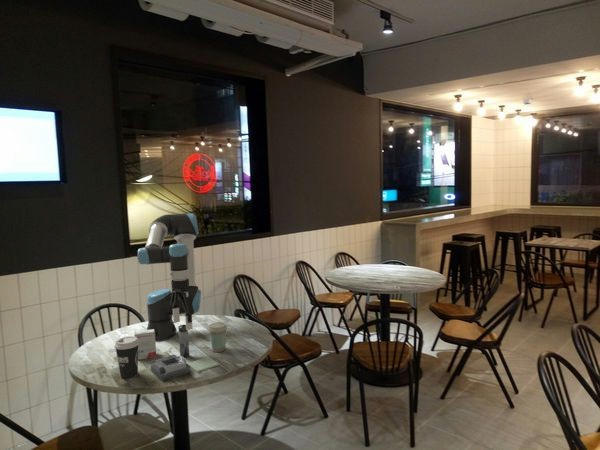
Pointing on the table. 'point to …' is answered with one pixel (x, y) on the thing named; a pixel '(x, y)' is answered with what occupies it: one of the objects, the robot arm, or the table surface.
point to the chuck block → (170, 367)
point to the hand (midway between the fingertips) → (182, 325)
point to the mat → (202, 364)
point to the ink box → (146, 344)
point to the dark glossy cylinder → (183, 341)
